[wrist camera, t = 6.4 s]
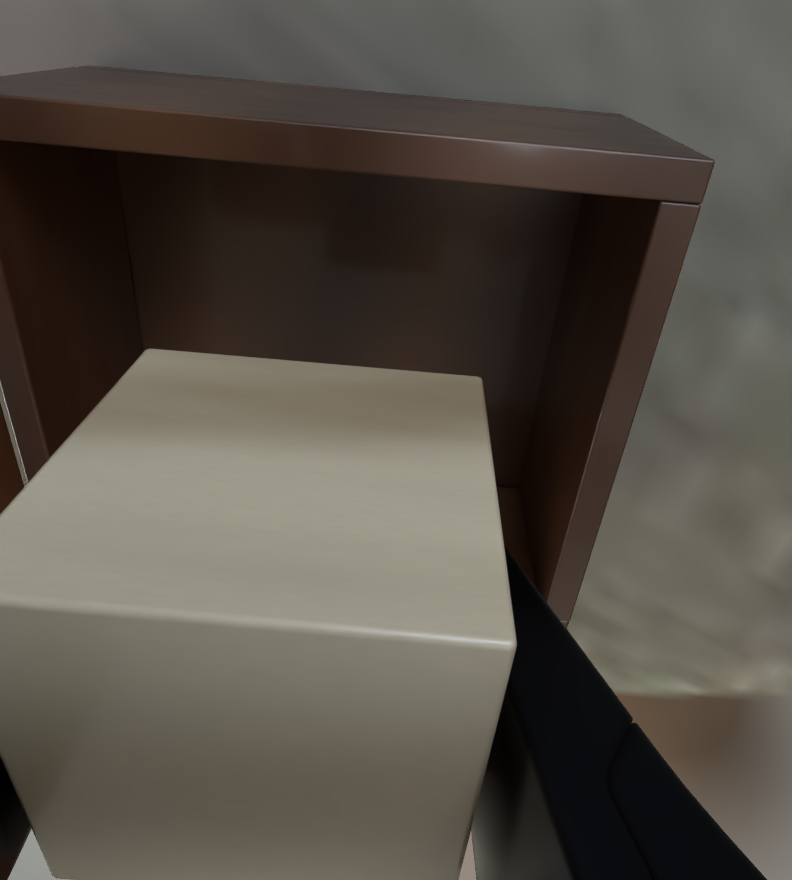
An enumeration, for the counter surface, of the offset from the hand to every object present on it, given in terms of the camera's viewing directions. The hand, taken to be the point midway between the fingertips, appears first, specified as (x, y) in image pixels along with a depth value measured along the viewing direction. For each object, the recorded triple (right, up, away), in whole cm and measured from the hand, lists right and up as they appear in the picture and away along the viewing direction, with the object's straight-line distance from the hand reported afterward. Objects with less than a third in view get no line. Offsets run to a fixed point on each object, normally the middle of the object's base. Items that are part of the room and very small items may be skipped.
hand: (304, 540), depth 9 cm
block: (0, +1, +1) cm, 1 cm away
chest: (0, +5, +10) cm, 11 cm away
